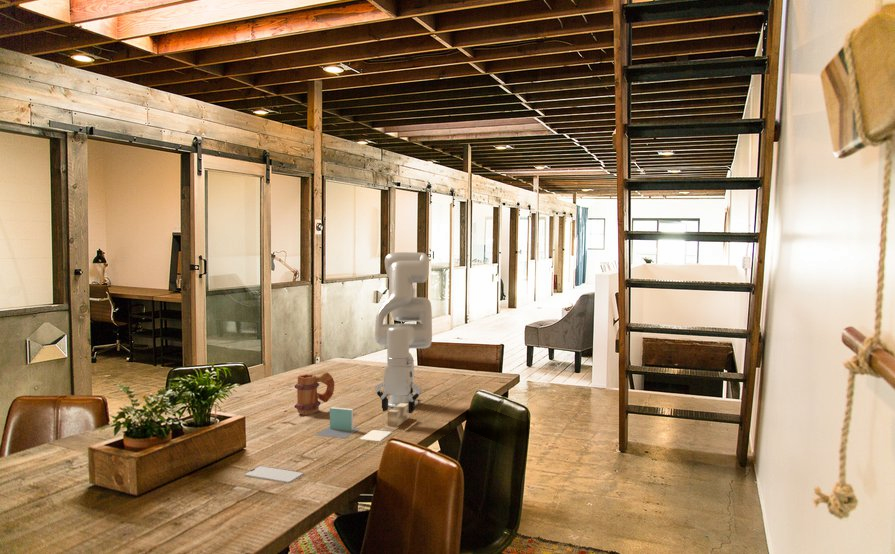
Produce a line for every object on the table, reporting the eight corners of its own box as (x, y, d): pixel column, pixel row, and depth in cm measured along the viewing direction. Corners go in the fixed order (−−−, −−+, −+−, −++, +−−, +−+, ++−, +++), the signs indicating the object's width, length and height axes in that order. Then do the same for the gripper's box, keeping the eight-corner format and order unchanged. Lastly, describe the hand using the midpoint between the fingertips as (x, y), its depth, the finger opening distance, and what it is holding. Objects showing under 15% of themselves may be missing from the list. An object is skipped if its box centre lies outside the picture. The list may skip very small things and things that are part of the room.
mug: (294, 417, 222) (294, 376, 221) (294, 411, 229) (293, 372, 229) (335, 414, 225) (335, 374, 225) (333, 409, 233) (333, 370, 233)
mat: (332, 426, 210) (332, 424, 210) (361, 429, 207) (361, 427, 207) (314, 436, 199) (314, 435, 199) (344, 440, 195) (344, 438, 195)
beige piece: (398, 419, 220) (398, 402, 220) (411, 420, 218) (411, 403, 218) (379, 432, 204) (379, 414, 204) (393, 433, 203) (393, 415, 202)
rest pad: (372, 432, 204) (372, 429, 204) (392, 434, 202) (392, 431, 202) (359, 441, 194) (359, 438, 194) (379, 443, 192) (379, 440, 192)
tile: (332, 427, 207) (331, 407, 207) (353, 429, 205) (353, 409, 204) (329, 428, 206) (329, 408, 205) (351, 431, 203) (351, 410, 203)
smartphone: (289, 482, 160) (242, 474, 165) (289, 485, 160) (242, 477, 165) (305, 472, 167) (259, 465, 172) (305, 475, 167) (259, 467, 172)
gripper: (425, 361, 213) (425, 410, 213) (379, 359, 218) (379, 407, 218) (417, 365, 206) (417, 415, 206) (370, 362, 211) (370, 412, 211)
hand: (398, 411), depth 212 cm, fingers open, 9 cm apart
